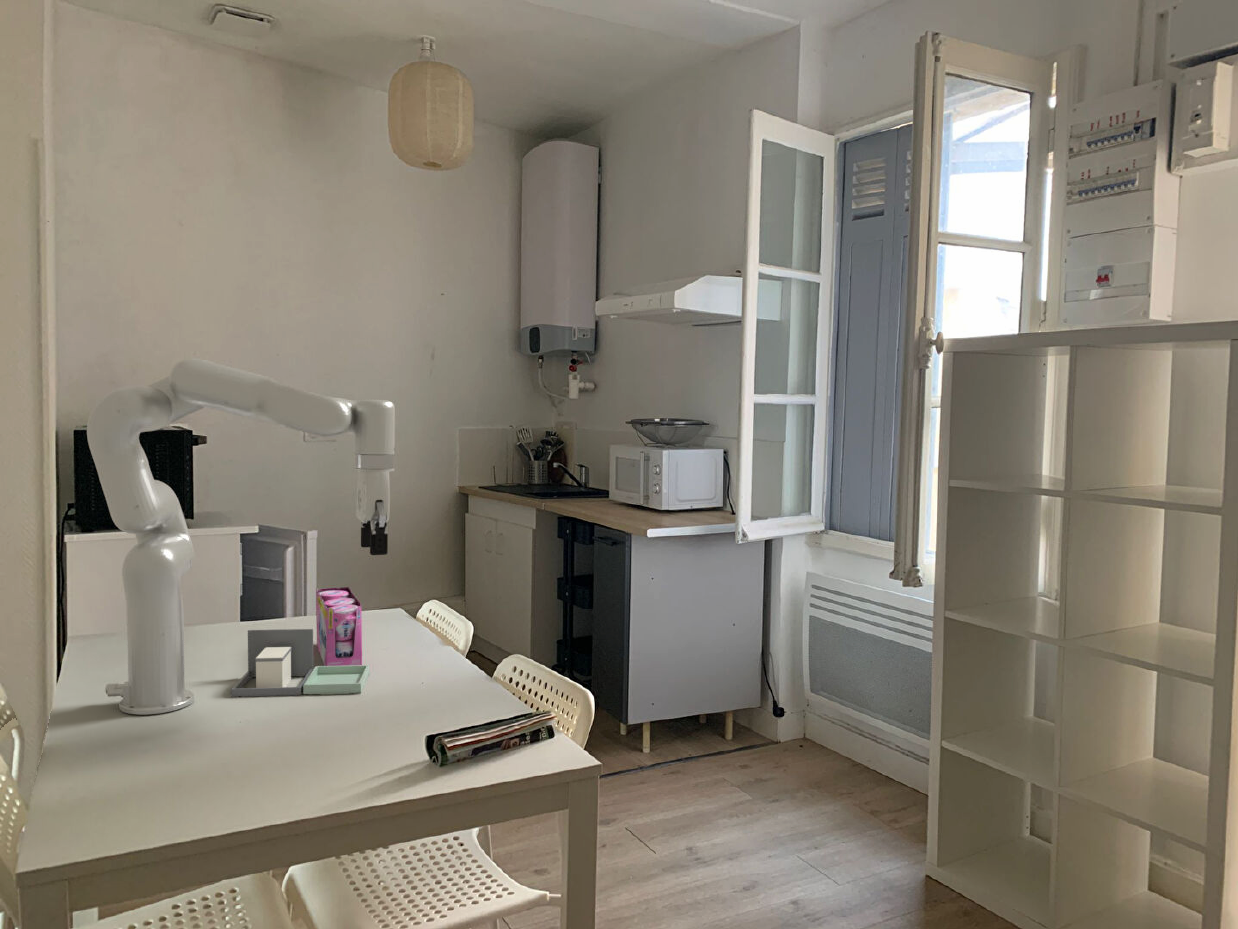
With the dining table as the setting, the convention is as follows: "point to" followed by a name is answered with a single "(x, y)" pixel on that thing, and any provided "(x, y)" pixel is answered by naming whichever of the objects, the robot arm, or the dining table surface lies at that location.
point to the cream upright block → (273, 667)
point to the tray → (336, 679)
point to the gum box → (339, 626)
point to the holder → (278, 638)
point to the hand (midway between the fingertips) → (373, 550)
